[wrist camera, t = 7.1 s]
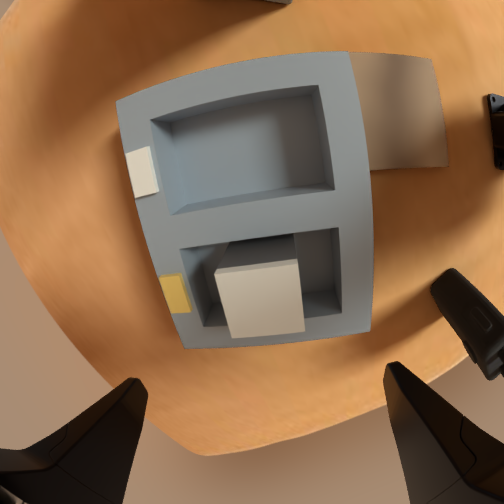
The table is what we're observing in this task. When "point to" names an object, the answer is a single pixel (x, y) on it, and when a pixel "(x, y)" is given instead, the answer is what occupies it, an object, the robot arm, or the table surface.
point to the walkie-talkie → (472, 321)
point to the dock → (255, 187)
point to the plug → (261, 287)
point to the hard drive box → (281, 1)
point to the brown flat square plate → (400, 111)
